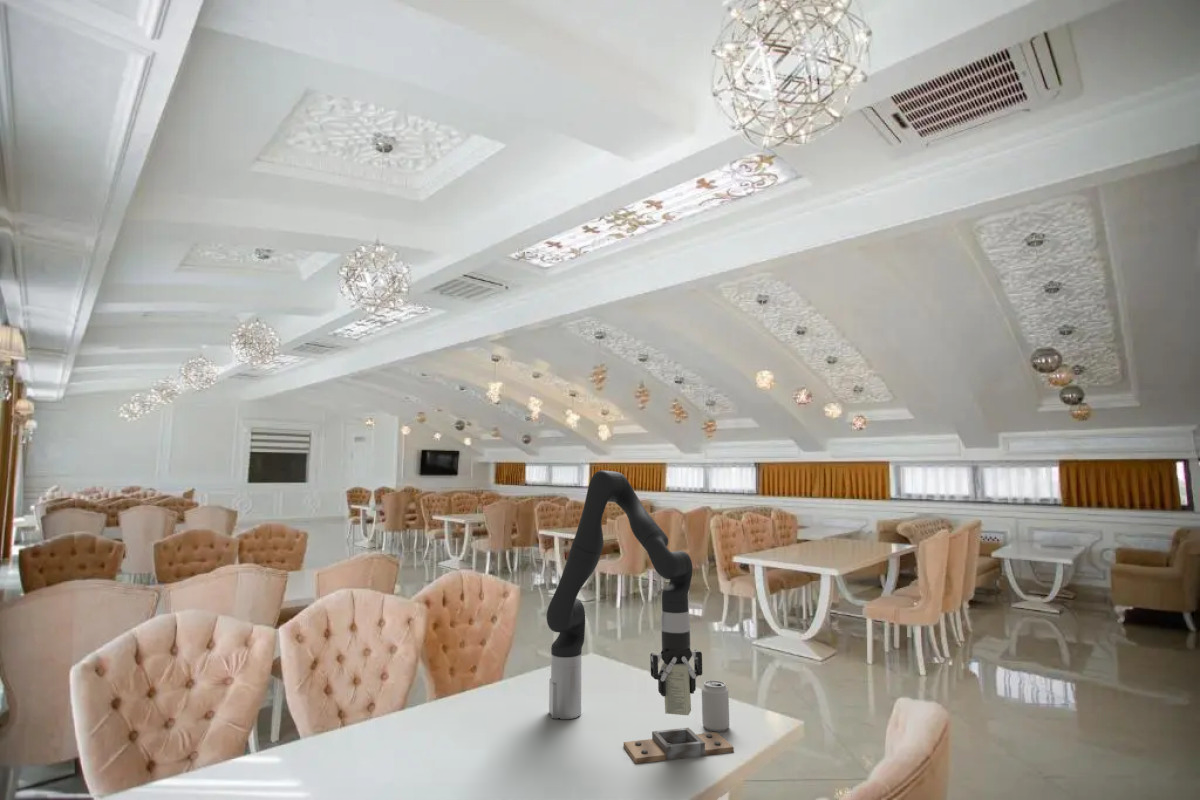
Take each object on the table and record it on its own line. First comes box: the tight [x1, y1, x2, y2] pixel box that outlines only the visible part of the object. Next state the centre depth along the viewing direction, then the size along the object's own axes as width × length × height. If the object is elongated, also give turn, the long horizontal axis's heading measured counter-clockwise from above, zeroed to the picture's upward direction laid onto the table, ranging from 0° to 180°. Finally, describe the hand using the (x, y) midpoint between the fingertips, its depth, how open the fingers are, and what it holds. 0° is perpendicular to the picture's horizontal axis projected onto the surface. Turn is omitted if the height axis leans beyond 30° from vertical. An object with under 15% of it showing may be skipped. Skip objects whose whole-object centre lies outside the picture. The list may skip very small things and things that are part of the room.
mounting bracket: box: [623, 727, 735, 764], centre depth 154 cm, size 26×10×3 cm, turn 105°
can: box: [701, 679, 730, 733], centre depth 169 cm, size 8×8×12 cm
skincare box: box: [662, 661, 692, 716], centre depth 156 cm, size 6×4×12 cm
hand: (677, 694), depth 156 cm, fingers closed on skincare box, 7 cm apart
